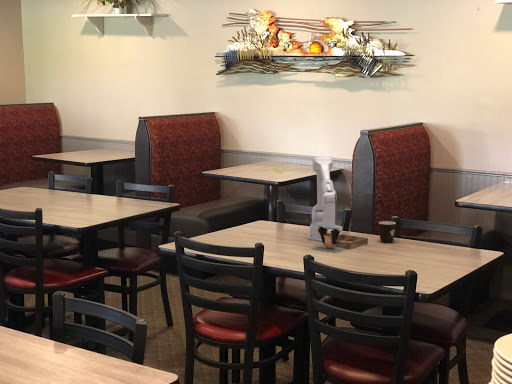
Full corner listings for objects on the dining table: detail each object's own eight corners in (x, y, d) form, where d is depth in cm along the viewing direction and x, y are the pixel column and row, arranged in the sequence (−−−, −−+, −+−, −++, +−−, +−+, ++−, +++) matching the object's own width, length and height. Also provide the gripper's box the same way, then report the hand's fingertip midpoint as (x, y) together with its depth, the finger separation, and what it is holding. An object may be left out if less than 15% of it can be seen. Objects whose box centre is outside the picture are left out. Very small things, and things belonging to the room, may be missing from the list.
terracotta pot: (322, 247, 335) (321, 235, 334) (329, 244, 339) (328, 232, 337) (331, 248, 331) (330, 236, 330) (338, 245, 335) (337, 233, 334)
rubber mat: (312, 248, 336) (312, 248, 336) (322, 245, 342) (322, 245, 342) (335, 252, 326) (335, 252, 326) (346, 249, 333) (346, 249, 333)
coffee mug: (382, 244, 344) (383, 224, 343) (375, 240, 352) (375, 221, 351) (403, 242, 347) (404, 223, 346) (395, 239, 355) (396, 220, 354)
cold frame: (323, 244, 344) (323, 238, 344) (341, 239, 356) (341, 233, 356) (350, 249, 334) (350, 243, 333) (367, 243, 346) (367, 237, 345)
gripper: (312, 215, 334) (312, 242, 336) (336, 219, 324) (336, 246, 326) (320, 213, 339) (320, 240, 341) (345, 216, 329) (344, 244, 331)
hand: (329, 243), depth 334 cm, fingers closed on terracotta pot, 5 cm apart
